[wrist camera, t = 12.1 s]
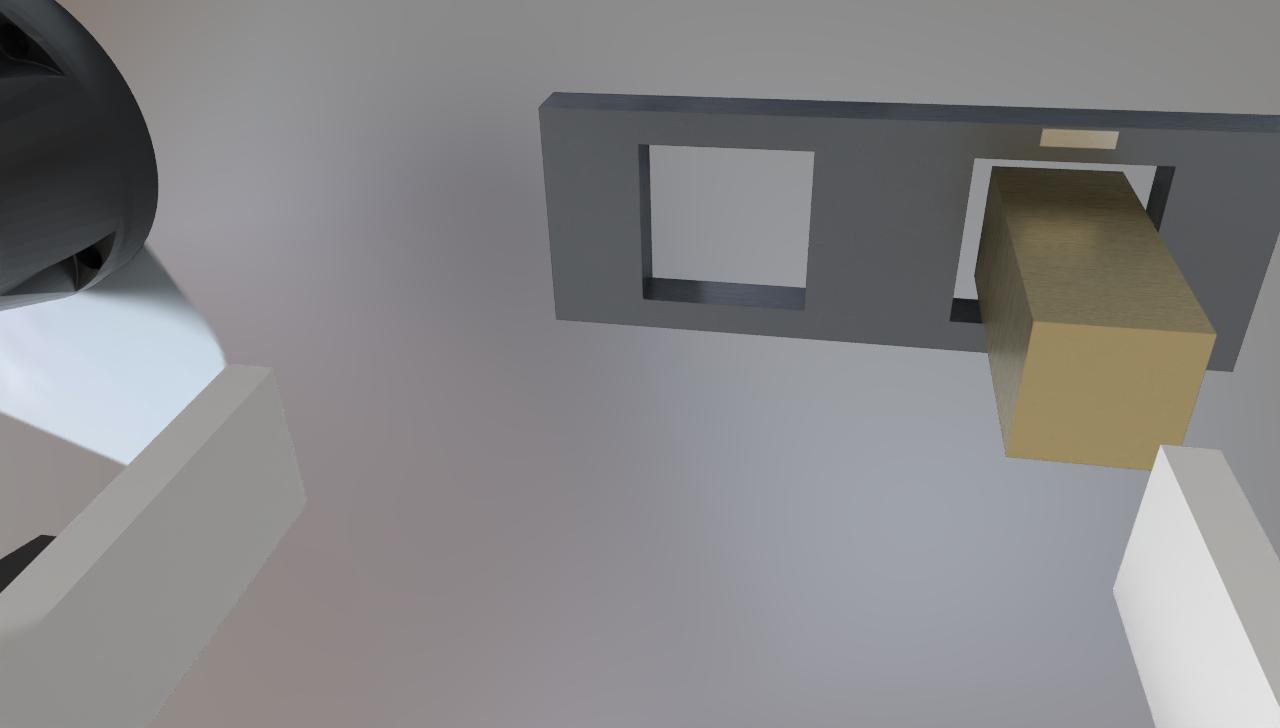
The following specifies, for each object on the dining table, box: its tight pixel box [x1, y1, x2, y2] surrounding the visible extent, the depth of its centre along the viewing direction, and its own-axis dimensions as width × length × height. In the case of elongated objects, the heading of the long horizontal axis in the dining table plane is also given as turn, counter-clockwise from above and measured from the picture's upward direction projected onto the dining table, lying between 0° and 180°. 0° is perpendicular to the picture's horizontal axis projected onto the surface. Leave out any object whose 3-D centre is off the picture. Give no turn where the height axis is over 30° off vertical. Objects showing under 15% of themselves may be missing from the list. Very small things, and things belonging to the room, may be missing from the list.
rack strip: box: [539, 92, 1280, 372], centre depth 37 cm, size 26×9×2 cm, turn 91°
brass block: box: [974, 166, 1217, 471], centre depth 32 cm, size 4×4×12 cm
